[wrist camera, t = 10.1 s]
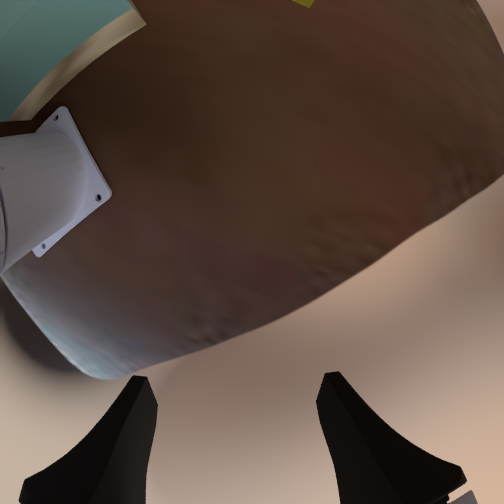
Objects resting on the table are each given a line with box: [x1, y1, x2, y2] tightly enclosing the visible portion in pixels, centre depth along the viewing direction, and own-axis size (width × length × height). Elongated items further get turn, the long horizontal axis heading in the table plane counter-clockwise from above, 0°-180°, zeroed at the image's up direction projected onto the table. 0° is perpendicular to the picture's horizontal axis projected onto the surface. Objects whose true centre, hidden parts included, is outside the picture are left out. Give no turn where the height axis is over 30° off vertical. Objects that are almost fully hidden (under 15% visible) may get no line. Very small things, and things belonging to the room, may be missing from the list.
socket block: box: [7, 0, 147, 121], centre depth 9 cm, size 11×13×3 cm
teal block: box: [0, 0, 133, 122], centre depth 6 cm, size 11×4×6 cm, turn 117°
